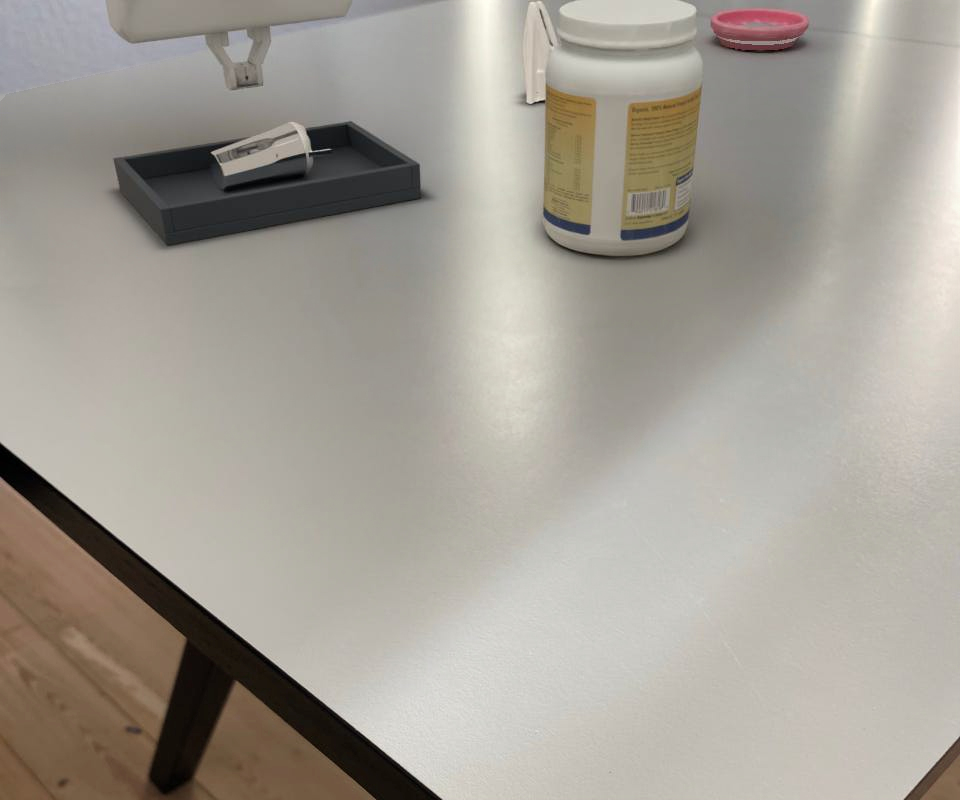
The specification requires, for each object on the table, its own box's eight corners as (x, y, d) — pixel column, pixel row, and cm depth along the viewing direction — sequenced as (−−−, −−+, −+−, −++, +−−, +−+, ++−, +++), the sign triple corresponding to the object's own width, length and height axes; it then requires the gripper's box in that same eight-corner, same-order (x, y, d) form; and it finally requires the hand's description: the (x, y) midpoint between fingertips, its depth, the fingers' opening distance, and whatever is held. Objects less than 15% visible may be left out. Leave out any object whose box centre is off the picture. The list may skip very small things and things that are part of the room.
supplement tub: (692, 214, 98) (716, -6, 87) (679, 266, 89) (705, 28, 78) (554, 205, 100) (561, -12, 89) (528, 255, 91) (532, 21, 80)
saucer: (689, 44, 147) (691, 17, 145) (746, 29, 153) (750, 2, 151) (767, 60, 140) (771, 32, 138) (824, 43, 146) (829, 16, 144)
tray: (167, 245, 93) (160, 209, 92) (120, 191, 104) (113, 158, 102) (421, 198, 102) (419, 164, 100) (353, 152, 112) (351, 120, 111)
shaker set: (612, 85, 131) (619, -23, 124) (627, 94, 128) (635, -16, 121) (516, 95, 128) (517, -15, 121) (528, 104, 125) (530, -8, 118)
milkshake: (223, 154, 96) (327, 125, 100) (201, 139, 100) (301, 111, 103) (235, 206, 100) (335, 176, 103) (213, 190, 103) (310, 161, 106)
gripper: (326, -118, 93) (342, 63, 102) (80, -99, 86) (119, 95, 95) (356, -110, 89) (369, 78, 98) (99, -89, 82) (139, 112, 91)
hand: (244, 87), depth 97 cm, fingers closed
